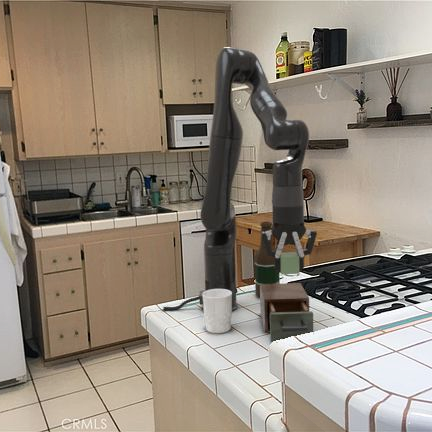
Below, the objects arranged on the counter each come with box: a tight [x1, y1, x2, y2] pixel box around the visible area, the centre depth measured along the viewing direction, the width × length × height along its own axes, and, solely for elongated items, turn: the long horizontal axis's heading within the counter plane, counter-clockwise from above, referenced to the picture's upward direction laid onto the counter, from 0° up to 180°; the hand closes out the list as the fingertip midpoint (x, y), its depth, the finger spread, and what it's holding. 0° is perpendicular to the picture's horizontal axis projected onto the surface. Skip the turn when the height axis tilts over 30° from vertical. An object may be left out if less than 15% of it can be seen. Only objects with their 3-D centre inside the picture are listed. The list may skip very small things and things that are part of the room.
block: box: [280, 251, 300, 275], centre depth 124 cm, size 4×4×4 cm
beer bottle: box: [254, 221, 281, 299], centre depth 160 cm, size 8×8×24 cm
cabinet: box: [259, 282, 310, 334], centre depth 137 cm, size 14×12×9 cm
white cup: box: [202, 289, 233, 334], centre depth 135 cm, size 8×8×10 cm
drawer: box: [268, 301, 314, 343], centre depth 126 cm, size 17×10×7 cm, turn 179°
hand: (289, 271), depth 125 cm, fingers closed on block, 4 cm apart
